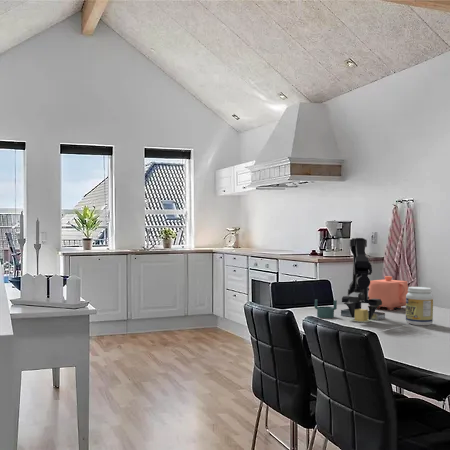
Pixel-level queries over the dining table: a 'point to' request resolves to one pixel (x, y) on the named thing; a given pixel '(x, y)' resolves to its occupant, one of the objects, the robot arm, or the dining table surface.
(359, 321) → the pad
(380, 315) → the rail
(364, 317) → the block
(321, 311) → the bracket
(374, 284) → the teapot
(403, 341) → the dining table surface
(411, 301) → the supplement tub
